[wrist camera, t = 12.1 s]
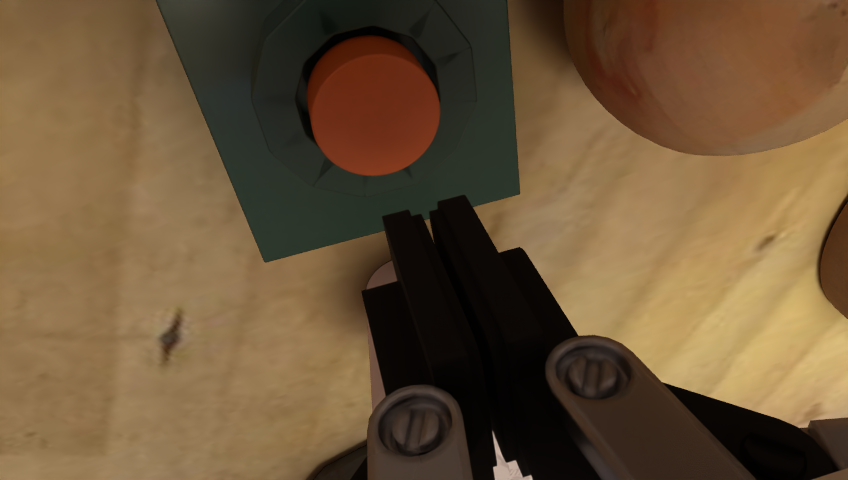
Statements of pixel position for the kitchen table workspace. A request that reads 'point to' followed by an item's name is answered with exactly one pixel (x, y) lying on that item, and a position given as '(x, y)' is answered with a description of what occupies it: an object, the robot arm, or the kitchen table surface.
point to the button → (372, 105)
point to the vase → (836, 264)
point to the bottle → (343, 466)
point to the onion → (715, 69)
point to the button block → (290, 122)
